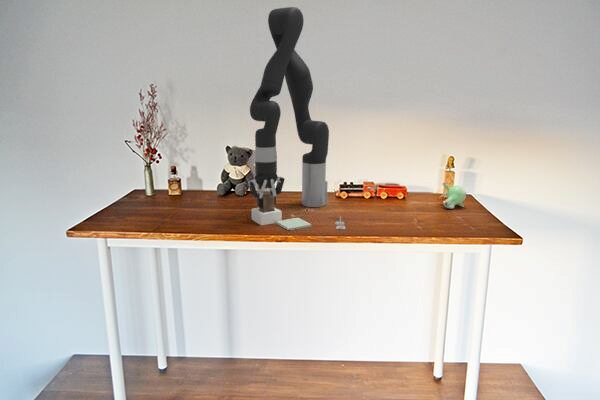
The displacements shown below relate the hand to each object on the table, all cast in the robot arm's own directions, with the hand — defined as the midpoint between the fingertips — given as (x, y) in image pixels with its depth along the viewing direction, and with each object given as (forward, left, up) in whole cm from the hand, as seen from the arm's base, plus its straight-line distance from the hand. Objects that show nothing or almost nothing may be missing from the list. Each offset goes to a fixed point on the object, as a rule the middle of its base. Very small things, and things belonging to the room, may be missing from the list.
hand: (266, 206), depth 169 cm
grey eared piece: (-21, +15, -6) cm, 27 cm away
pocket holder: (0, 0, -5) cm, 5 cm away
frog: (-72, +20, -5) cm, 75 cm away
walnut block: (0, 0, -5) cm, 5 cm away
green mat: (-6, +9, -5) cm, 12 cm away
